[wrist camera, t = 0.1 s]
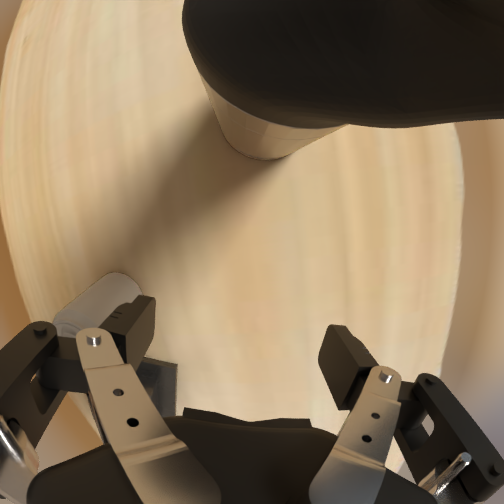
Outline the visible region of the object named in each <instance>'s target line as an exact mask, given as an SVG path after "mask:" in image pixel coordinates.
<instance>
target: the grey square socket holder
mask: <svg viewBox="0 0 504 504" xmlns="http://www.w3.org/2000/svg"><path fill="white" fill-rule="evenodd" d="M177 365H178V364H173V363H168V362H164V361H159V360H155V359H151V358H146V357H143V359H142V361H141V363H140V365H139V367H138V369H137V370H136V372H135V373H136V375H137V377H138V378H139V380H140V382H141V384H142V386H143V387H144V389H145V391H146V393H147V394H148V396H149V398H150V399H151V401H152V403H153V404H154V406H155V408H156V409H157V411H158V412H159V414H160V415H161V417H162V418H163V417H169V416H176V390H177ZM91 412H92V411H91ZM92 415H93V414H92ZM93 418H94V417H93ZM94 420H95V419H94Z"/></svg>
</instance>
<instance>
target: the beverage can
mask: <svg viewBox="0 0 504 504" xmlns="http://www.w3.org/2000/svg"><path fill="white" fill-rule="evenodd" d="M138 295H143V294H142V292H141V289H140V288H139V286H138V285H137V284H136V282H135V281H134V280H133V279H131V278H130V277H128V276H127V275H125V274H122V273H117V272H114V273H109V274H106V275H105V276H103V277H102V278H101V279H99V280H98V281H97V282H95V283H94V284H93V285H92V286H90V287H89V288H88V289H87V290H85V291H84V292H83V293H82V294H80V295H79V296H78V297H77V298H75V299H74V300H73V301H72V302H71V303H69V304H68V305H67V306H66V307H64V308H63V309H62V310H61V311H60V312H59V313H57V315H56V316H55V318H54V321H53V325H54V326H55V327H56V329H57V334H58V336H62V337H70V338H76V335H77V333H78V332H79V331H81V330H83V329H86V328H98V327H99V326H100V325H101V324H102V322H103V321H104V320H105V319H106V318H107V317H108V316H109V315H110V314H111V313H112V312H113V311H114V310H115V309H116V308H117V307H118V306H119V305H121V304H124V303H126V302H128V303H132V302H133V301H134V299H135V298H136V297H137V296H138Z"/></svg>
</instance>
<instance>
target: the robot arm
mask: <svg viewBox="0 0 504 504" xmlns="http://www.w3.org/2000/svg"><path fill="white" fill-rule="evenodd" d="M182 25H183V32H184V35H185V39H186V43H187V46H188V48H189V51H190V53H191V56H192V58H193V60H194V63H195V65H196V67H197V69H198V72H199V74H200V77H201V79H202V82H203V84H204V87H205V89H206V91H207V94H208V96H209V99H210V101H211V104H212V106H213V109H214V112H215V114H216V117H217V120H218V122H219V125H220V128H221V130H222V132H223V134H224V136H225V138H226V140H227V141H228V142H229V144H230V145H231V146H232V147H233V148H234V149H236V150H237V151H238V152H240V153H242V154H243V155H245V156H247V157H250V158H254V159H258V160H273V159H278V158H281V157H285V156H287V155H289V154H290V153H293V152H295V151H297V150H299V149H300V148H302V147H304V146H306V145H308V144H310V143H312V142H314V141H316V140H318V139H320V138H322V137H324V136H326V135H328V134H330V133H332V132H334V131H336V130H338V129H340V128H342V127H344V126H346V125H348V124H352V125H360V126H368V127H378V128H410V127H420V126H428V125H435V124H443V123H452V122H462V121H473V120H488V119H504V0H185V1H184V6H183V11H182ZM155 306H156V300H155V298H154V297H149V296H144V295H138V296H137V297H136V298H135V299H134V301H133V302H132V303H128V302H126V303H124V304H121V305H119V306H118V307H117V308H116V309H115V310H114V311H113V312H112V313H111V314H110V315H109V316H108V317H107V318H106V319H105V320H104V321H103V322H102V324H101V325H100V326H99V327H98V328H86V329H83V330H81V331H79V332H78V333H77V335H76V338H70V337H62V336H58V334H57V329H56V327H55V326H54V325H53V324H52V323H49V322H45V321H38V322H33V323H31V324H29V325H28V326H26V327H25V328H24V329H23V330H22V331H21V332H20V333H18V334H17V335H16V336H15V337H14V338H13V339H12V340H11V341H10V342H9V343H7V344H6V345H5V346H4V347H3V348H2V349H1V350H0V498H1V499H6V498H7V499H8V500H10V501H11V502H13V503H14V504H482V503H484V502H485V501H486V500H487V499H488V498H489V497H491V496H492V495H493V494H494V493H495V492H496V491H497V490H499V489H500V488H501V487H502V486H503V485H504V460H503V459H502V457H501V456H500V454H499V453H498V451H497V450H496V449H495V447H494V446H493V445H492V443H491V442H490V441H489V439H488V438H487V437H486V435H485V434H484V433H483V431H482V430H481V429H480V427H479V426H478V425H477V424H476V422H475V421H474V420H473V419H472V417H471V416H470V415H469V413H468V412H467V411H466V410H465V408H464V407H463V406H462V405H461V404H460V403H459V401H458V400H457V399H456V397H455V396H454V395H453V394H452V393H451V391H450V390H449V389H448V388H447V387H446V385H445V384H444V383H443V382H442V381H441V380H440V379H439V378H438V377H436V376H434V375H432V374H428V373H422V374H419V375H418V377H417V379H416V381H415V382H414V383H412V382H405V381H401V380H402V379H401V376H400V374H399V373H398V372H396V371H395V370H393V369H392V368H389V367H386V366H379V364H378V363H377V362H376V360H375V359H374V358H373V356H372V355H371V354H369V351H368V350H367V349H366V347H365V346H364V344H363V343H362V342H361V341H360V340H358V339H357V338H356V337H354V336H353V335H352V334H351V333H350V331H349V330H348V329H347V327H346V326H343V325H329V326H328V328H327V330H326V334H325V337H324V340H323V343H322V346H321V348H320V351H319V356H318V363H319V366H320V369H321V371H322V373H323V375H324V378H325V380H326V382H327V385H328V387H329V389H330V392H331V394H332V396H333V399H334V401H335V403H336V406H337V408H338V410H350V413H349V415H348V416H347V418H346V420H345V422H344V424H343V426H342V427H341V429H340V431H339V433H338V435H337V436H336V435H334V434H332V433H330V432H328V431H325V430H322V429H318V428H314V427H312V425H311V422H310V419H292V418H278V419H271V420H263V421H255V422H247V421H243V420H239V419H236V418H232V417H229V416H226V415H223V414H219V413H216V412H210V411H203V410H197V409H191V408H186V407H184V411H183V415H182V416H169V417H163V418H162V417H161V415H160V414H159V412H158V411H157V409H156V408H155V406H154V404H153V403H152V401H151V399H150V398H149V396H148V394H147V393H146V391H145V389H144V387H143V386H142V384H141V382H140V380H139V378H138V377H137V375H136V373H135V372H136V370H137V369H138V367H139V365H140V363H141V361H142V359H143V357H144V355H145V353H146V351H147V349H148V347H149V346H150V344H151V342H152V339H153V336H154V329H155ZM35 373H36V376H35V378H34V379H33V380H32V381H31V379H32V377H33V375H34V374H35ZM30 382H31V383H30ZM68 391H70V392H79V393H86V395H87V398H88V402H89V405H90V408H91V411H92V414H93V417H94V419H95V422H96V425H97V428H98V430H99V433H100V436H101V439H102V441H103V444H104V445H102V446H99V447H97V448H95V449H93V450H90V451H88V452H86V453H84V454H81V455H79V456H76V457H74V458H72V459H69V460H67V461H64V462H62V463H59V464H56V465H54V466H51V467H48V468H46V469H44V470H42V471H41V472H39V473H38V467H39V456H38V454H37V452H36V451H35V448H36V446H37V444H38V442H39V440H40V439H41V437H42V435H43V433H44V431H45V429H46V428H47V426H48V424H49V422H50V420H51V419H52V417H53V415H54V414H55V412H56V410H57V409H58V407H59V405H60V403H61V402H62V400H63V398H64V397H65V395H66V394H67V392H68ZM427 414H429V416H430V417H431V419H432V420H433V422H434V430H433V432H432V434H431V435H430V437H429V435H428V434H427V432H426V430H425V429H424V427H423V425H422V424H421V423H422V422H423V420H424V419H425V417H426V416H427ZM393 436H394V438H395V440H396V442H397V444H398V446H399V448H400V450H401V452H402V454H403V456H404V458H405V460H406V462H407V464H408V467H409V469H410V471H411V473H412V475H413V478H414V480H415V482H416V484H417V485H416V484H414V483H412V482H410V481H408V480H406V479H405V478H403V477H401V476H399V475H398V474H396V473H394V472H393V471H391V470H389V469H388V468H386V467H385V461H386V458H387V455H388V452H389V449H390V445H391V442H392V439H393Z"/></svg>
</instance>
